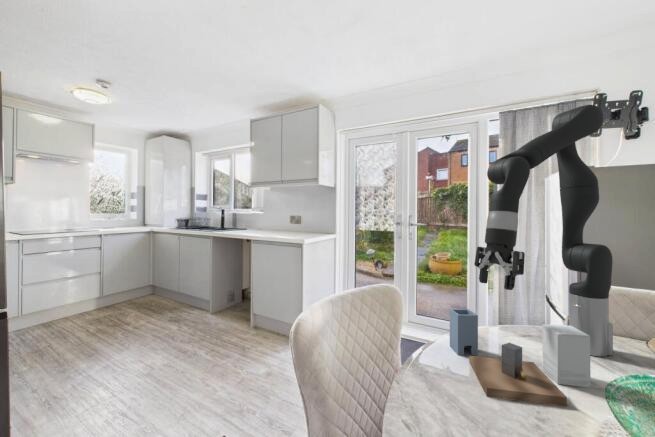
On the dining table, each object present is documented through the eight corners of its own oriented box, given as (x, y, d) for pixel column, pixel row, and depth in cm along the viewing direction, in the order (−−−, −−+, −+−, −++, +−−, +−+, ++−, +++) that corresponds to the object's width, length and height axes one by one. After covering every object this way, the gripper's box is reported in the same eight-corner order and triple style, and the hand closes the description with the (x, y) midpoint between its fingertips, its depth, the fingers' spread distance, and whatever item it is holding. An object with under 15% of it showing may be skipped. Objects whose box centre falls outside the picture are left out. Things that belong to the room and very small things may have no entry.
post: (518, 370, 75) (518, 343, 75) (526, 380, 70) (526, 351, 70) (498, 368, 76) (498, 341, 76) (505, 378, 71) (505, 349, 71)
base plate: (533, 369, 79) (533, 362, 79) (567, 406, 64) (567, 397, 64) (469, 362, 83) (469, 355, 83) (486, 396, 67) (486, 387, 67)
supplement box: (591, 388, 70) (591, 336, 70) (557, 384, 72) (557, 333, 72) (572, 372, 78) (572, 325, 78) (541, 369, 79) (541, 323, 79)
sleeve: (449, 346, 94) (449, 309, 94) (468, 346, 94) (468, 309, 94) (458, 355, 88) (457, 315, 88) (477, 355, 88) (477, 315, 88)
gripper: (535, 231, 76) (529, 293, 75) (491, 229, 89) (485, 281, 89) (513, 227, 74) (506, 291, 73) (471, 226, 87) (465, 279, 87)
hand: (495, 286), depth 81 cm, fingers open, 8 cm apart
